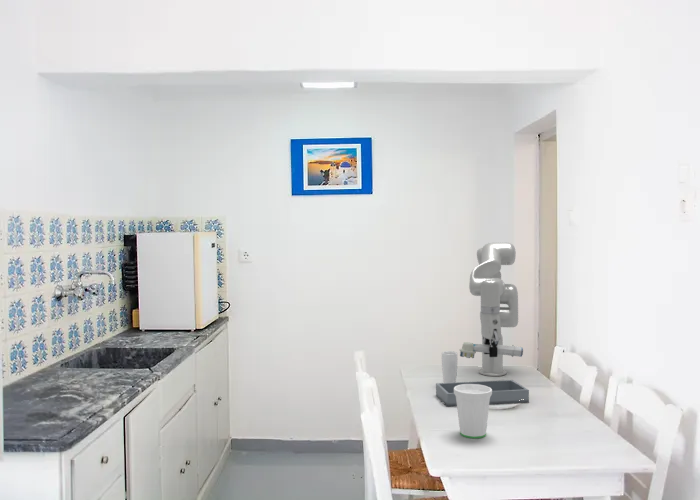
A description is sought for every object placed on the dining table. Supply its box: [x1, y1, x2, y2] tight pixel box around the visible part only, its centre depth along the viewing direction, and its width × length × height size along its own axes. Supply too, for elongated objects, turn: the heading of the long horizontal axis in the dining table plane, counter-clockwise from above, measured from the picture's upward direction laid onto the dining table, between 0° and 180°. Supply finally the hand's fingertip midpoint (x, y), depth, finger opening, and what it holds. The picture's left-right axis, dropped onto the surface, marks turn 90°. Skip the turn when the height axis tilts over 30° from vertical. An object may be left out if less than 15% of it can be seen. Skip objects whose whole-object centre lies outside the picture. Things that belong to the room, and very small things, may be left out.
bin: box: [435, 379, 530, 408], centre depth 236 cm, size 16×33×5 cm, turn 97°
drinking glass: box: [441, 350, 458, 383], centre depth 255 cm, size 7×7×15 cm
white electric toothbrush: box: [459, 341, 524, 359], centre depth 237 cm, size 5×7×25 cm
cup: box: [454, 384, 492, 439], centre depth 195 cm, size 12×12×15 cm
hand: (490, 354), depth 237 cm, fingers closed on white electric toothbrush, 5 cm apart
